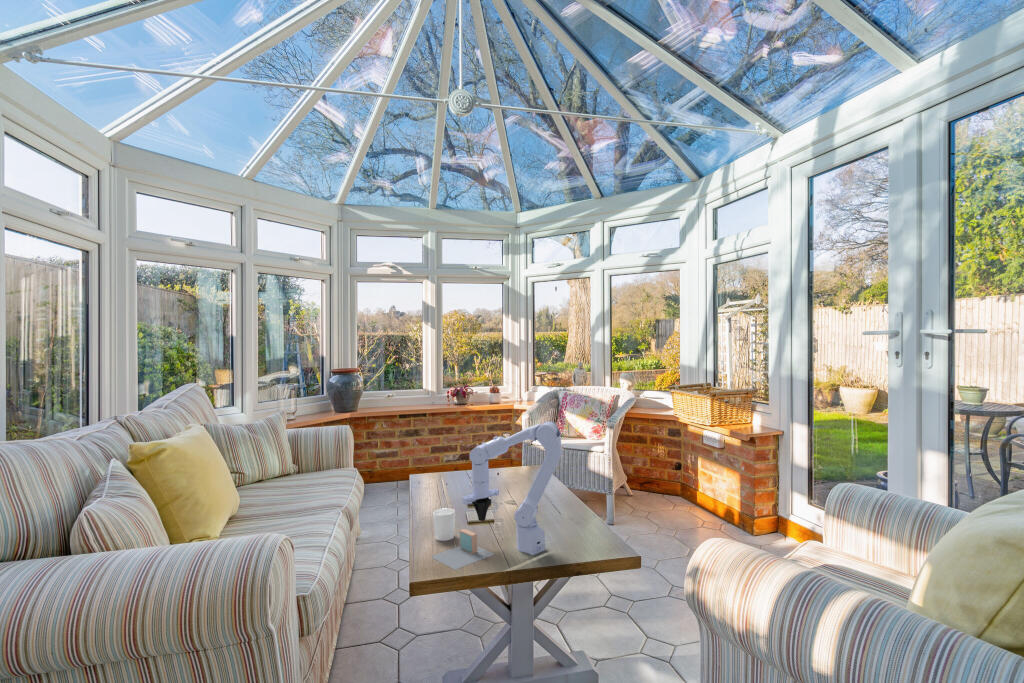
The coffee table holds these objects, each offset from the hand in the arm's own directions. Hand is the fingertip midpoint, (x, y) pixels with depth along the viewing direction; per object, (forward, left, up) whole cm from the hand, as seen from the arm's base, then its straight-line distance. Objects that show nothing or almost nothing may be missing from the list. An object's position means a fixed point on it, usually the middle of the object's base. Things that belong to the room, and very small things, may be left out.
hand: (481, 520), depth 170 cm
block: (0, +6, -8) cm, 10 cm away
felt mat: (-2, +10, -9) cm, 14 cm away
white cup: (+16, +5, -10) cm, 19 cm away
